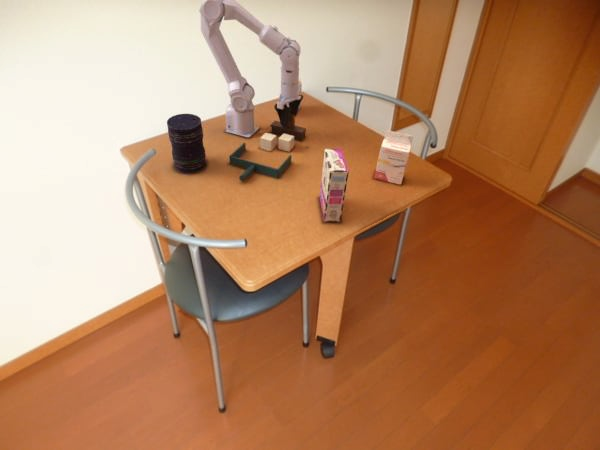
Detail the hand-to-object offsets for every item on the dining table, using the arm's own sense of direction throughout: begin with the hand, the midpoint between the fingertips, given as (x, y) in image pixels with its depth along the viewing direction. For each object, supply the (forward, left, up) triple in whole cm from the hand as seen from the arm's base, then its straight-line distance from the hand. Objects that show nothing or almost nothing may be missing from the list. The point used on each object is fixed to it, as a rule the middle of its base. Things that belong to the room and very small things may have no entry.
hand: (288, 120), depth 144 cm
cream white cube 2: (+3, -8, -6) cm, 10 cm away
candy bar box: (+28, -33, -6) cm, 43 cm away
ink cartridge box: (+39, -10, -6) cm, 41 cm away
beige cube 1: (-3, -11, -6) cm, 12 cm away
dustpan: (0, -24, -6) cm, 25 cm away
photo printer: (-7, +17, -6) cm, 20 cm away
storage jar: (-19, -32, -6) cm, 37 cm away
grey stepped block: (0, 0, -6) cm, 6 cm away
